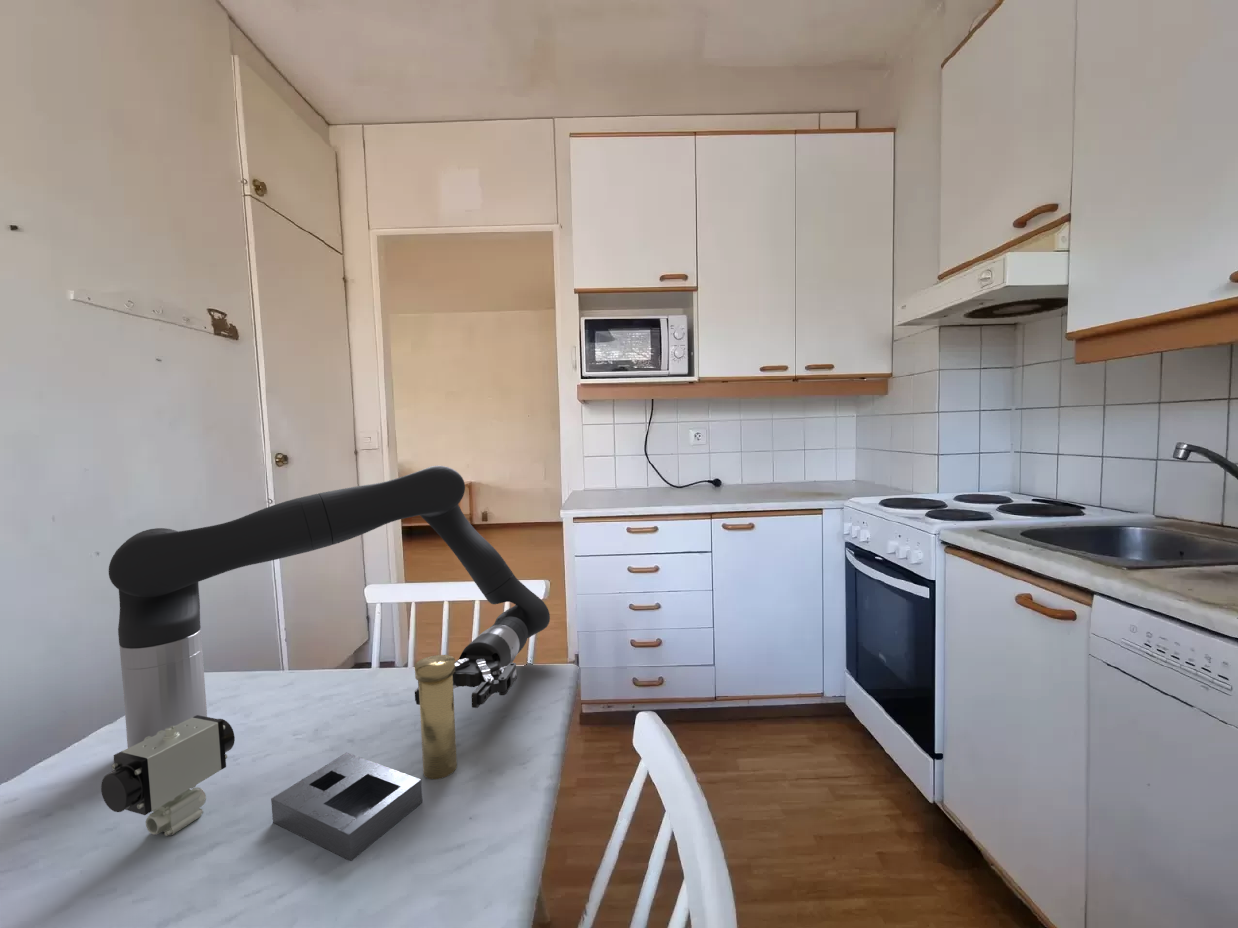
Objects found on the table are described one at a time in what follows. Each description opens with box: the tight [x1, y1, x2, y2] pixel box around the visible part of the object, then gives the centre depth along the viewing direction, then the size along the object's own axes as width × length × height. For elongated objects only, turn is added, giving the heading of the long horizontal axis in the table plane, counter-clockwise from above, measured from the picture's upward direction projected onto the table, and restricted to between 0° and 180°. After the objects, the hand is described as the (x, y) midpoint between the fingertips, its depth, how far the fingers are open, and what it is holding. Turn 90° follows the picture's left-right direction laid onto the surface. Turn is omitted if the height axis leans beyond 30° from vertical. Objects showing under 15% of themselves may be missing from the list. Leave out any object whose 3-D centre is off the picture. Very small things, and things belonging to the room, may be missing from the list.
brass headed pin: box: [414, 654, 458, 780], centre depth 72 cm, size 5×5×15 cm
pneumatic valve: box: [100, 715, 236, 837], centre depth 63 cm, size 6×12×12 cm, turn 162°
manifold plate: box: [270, 752, 423, 862], centre depth 65 cm, size 14×10×3 cm
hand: (445, 699), depth 75 cm, fingers open, 8 cm apart
